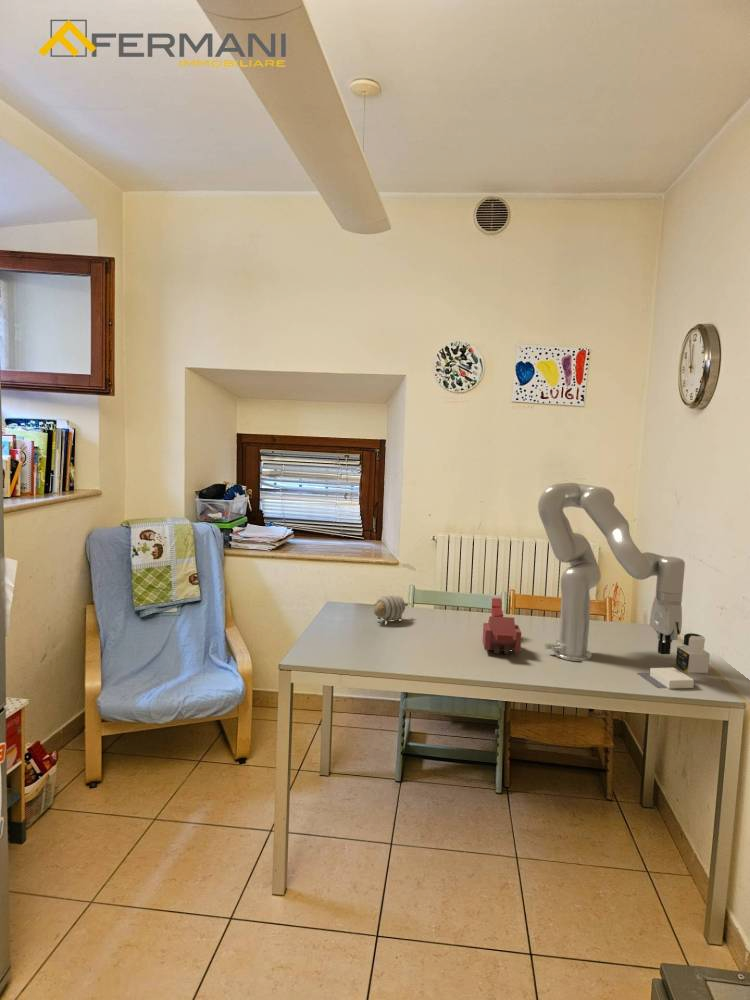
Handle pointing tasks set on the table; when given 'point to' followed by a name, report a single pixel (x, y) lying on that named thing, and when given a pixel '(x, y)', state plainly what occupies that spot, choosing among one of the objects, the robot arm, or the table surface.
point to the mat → (655, 682)
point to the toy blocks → (501, 631)
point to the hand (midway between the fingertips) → (663, 653)
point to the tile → (671, 678)
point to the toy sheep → (390, 607)
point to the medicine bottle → (693, 654)
